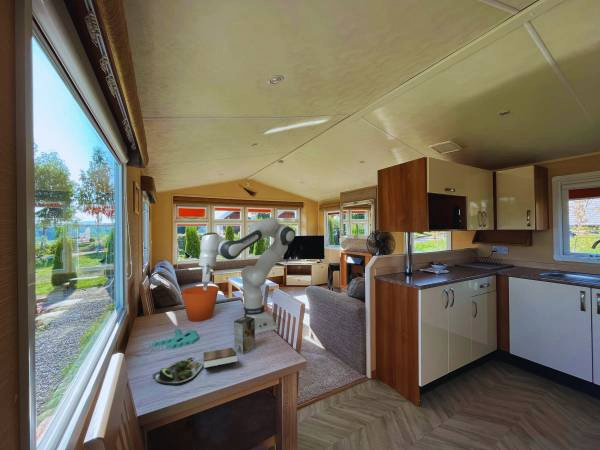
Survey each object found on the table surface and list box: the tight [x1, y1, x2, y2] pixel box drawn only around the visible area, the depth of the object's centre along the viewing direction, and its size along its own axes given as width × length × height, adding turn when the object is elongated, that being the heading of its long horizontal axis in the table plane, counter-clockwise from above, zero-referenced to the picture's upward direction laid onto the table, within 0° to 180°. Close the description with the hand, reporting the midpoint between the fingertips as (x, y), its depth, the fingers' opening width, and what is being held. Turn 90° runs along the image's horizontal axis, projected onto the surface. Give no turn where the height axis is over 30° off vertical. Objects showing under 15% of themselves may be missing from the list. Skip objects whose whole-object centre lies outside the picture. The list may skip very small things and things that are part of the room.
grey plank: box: [203, 355, 238, 369], centre depth 116 cm, size 14×9×2 cm, turn 112°
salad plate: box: [151, 357, 203, 387], centre depth 113 cm, size 19×18×5 cm
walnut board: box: [203, 347, 236, 363], centre depth 124 cm, size 14×9×2 cm, turn 112°
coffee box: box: [233, 316, 256, 356], centre depth 133 cm, size 9×6×16 cm
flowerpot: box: [180, 285, 219, 323], centre depth 180 cm, size 25×25×20 cm
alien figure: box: [151, 328, 200, 350], centre depth 145 cm, size 20×2×20 cm
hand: (204, 287), depth 137 cm, fingers open, 8 cm apart
